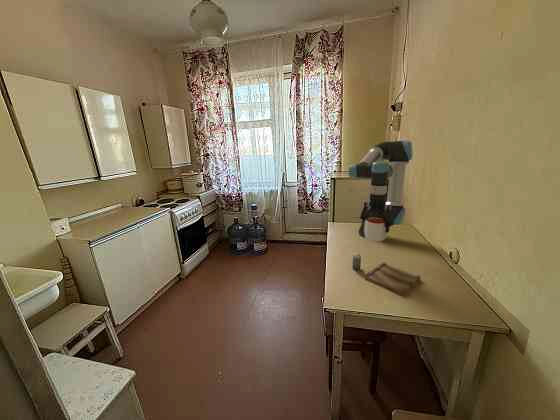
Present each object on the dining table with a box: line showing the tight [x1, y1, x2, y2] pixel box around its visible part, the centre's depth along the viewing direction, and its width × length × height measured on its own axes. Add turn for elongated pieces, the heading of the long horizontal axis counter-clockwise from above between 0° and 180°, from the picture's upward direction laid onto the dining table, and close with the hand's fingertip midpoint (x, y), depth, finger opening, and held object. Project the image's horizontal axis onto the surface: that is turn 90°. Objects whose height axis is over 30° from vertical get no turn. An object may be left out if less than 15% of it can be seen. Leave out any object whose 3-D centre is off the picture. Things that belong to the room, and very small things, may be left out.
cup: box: [364, 218, 385, 242], centre depth 118 cm, size 10×10×10 cm
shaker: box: [351, 252, 362, 272], centre depth 118 cm, size 4×4×9 cm
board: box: [364, 262, 422, 297], centre depth 108 cm, size 18×18×2 cm
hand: (374, 234), depth 118 cm, fingers closed on cup, 10 cm apart
